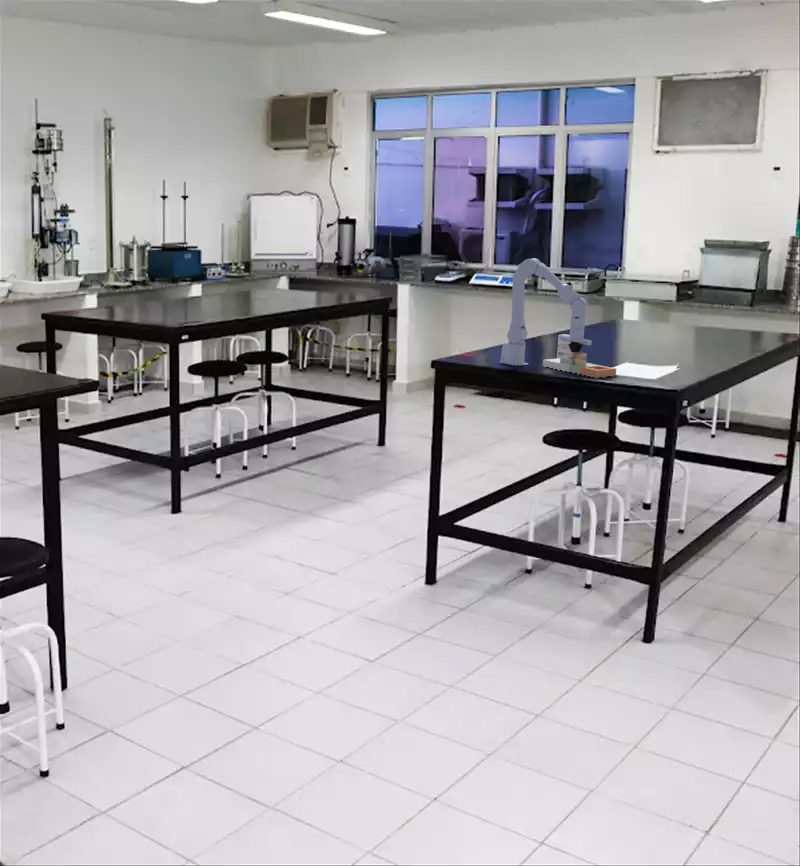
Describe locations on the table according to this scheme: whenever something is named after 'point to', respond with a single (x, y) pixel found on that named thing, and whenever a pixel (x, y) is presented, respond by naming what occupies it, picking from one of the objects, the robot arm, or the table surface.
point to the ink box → (563, 348)
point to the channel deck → (579, 367)
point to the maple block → (579, 358)
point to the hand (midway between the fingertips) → (574, 360)
